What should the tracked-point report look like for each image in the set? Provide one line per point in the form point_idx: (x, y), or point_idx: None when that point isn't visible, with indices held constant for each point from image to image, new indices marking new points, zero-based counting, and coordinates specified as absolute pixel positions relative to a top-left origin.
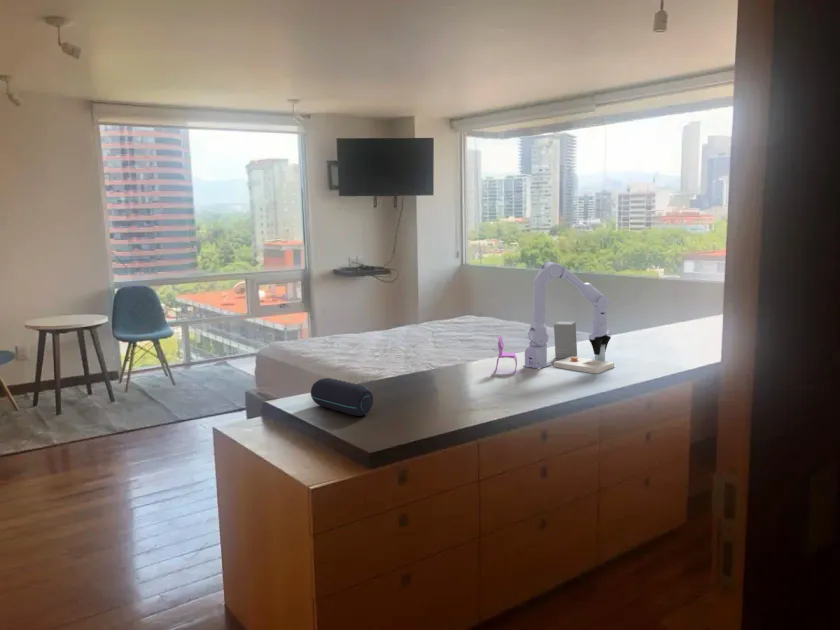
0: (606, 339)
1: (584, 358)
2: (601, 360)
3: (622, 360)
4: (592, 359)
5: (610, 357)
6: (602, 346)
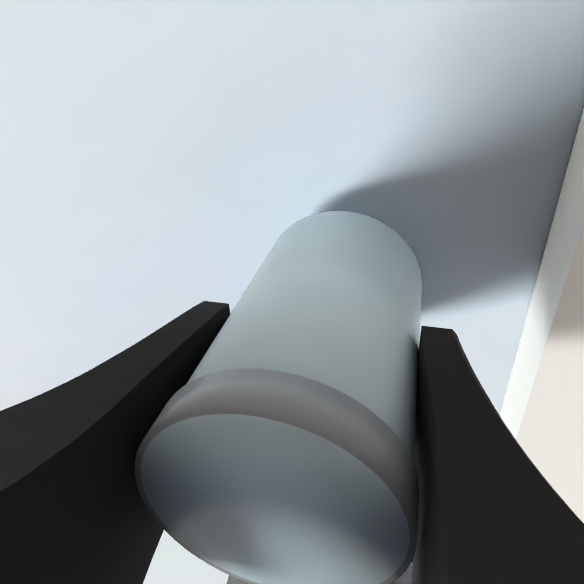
0: (17, 529)
1: (529, 456)
2: (398, 240)
3: (20, 44)
4: (548, 349)
5: (28, 268)
6: (355, 411)
